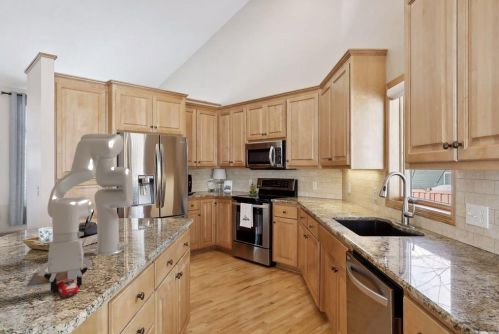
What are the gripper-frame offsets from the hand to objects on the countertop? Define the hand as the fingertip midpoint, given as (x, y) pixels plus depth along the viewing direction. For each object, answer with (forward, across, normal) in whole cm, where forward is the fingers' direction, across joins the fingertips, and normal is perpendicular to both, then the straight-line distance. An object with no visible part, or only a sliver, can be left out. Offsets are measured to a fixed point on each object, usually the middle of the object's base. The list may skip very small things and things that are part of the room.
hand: (66, 289), depth 97 cm
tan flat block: (0, +5, -17) cm, 18 cm away
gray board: (+1, +5, -17) cm, 18 cm away
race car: (+1, 0, 0) cm, 1 cm away
